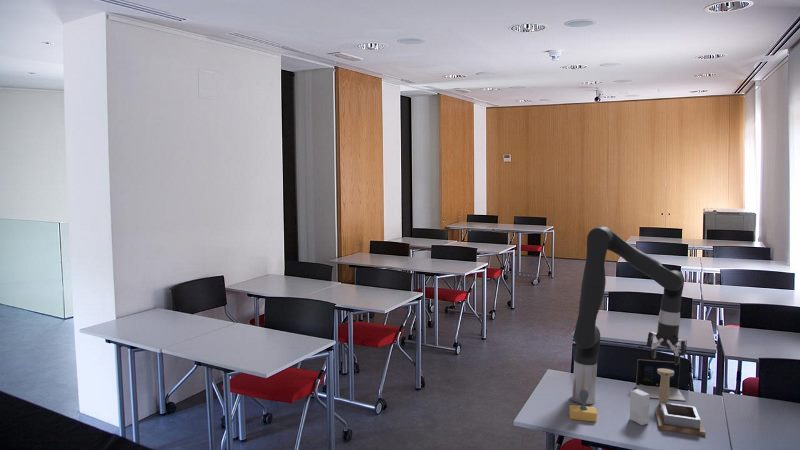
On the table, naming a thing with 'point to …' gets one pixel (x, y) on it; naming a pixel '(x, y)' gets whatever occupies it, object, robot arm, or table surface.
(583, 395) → the rubber stamp
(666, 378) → the handle
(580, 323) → the robot arm
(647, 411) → the skincare box
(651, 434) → the table surface
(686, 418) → the socket board
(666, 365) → the laptop
